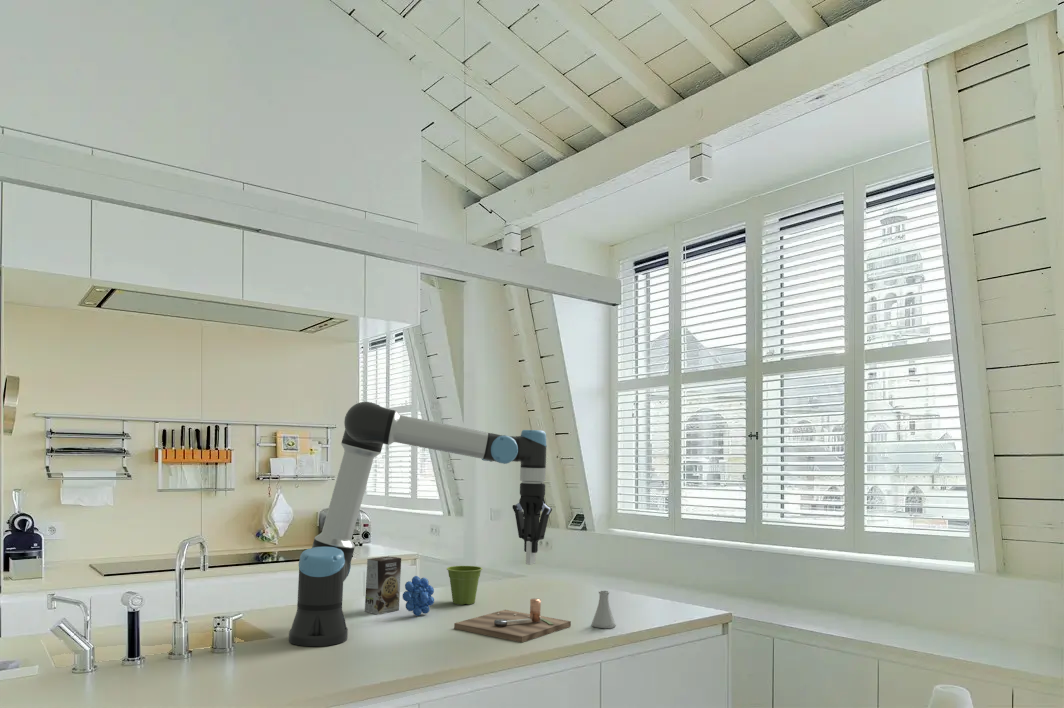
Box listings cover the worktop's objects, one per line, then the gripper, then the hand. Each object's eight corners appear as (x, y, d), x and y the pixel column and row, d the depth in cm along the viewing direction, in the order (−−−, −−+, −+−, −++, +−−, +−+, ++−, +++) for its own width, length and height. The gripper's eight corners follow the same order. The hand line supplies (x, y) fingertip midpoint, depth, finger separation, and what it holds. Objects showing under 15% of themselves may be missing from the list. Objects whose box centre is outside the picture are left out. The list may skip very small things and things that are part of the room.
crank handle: (497, 626, 228) (498, 604, 228) (492, 623, 231) (492, 601, 231) (544, 621, 234) (544, 600, 235) (538, 619, 238) (538, 597, 238)
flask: (614, 629, 235) (615, 594, 236) (589, 628, 236) (590, 592, 237) (617, 624, 242) (617, 589, 243) (592, 622, 243) (593, 588, 244)
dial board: (522, 642, 218) (522, 635, 218) (454, 628, 232) (454, 622, 232) (570, 626, 238) (570, 620, 238) (505, 614, 251) (505, 608, 252)
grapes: (410, 621, 240) (412, 579, 241) (397, 617, 245) (398, 576, 246) (441, 615, 248) (443, 575, 249) (428, 611, 253) (429, 572, 254)
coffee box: (378, 614, 247) (380, 560, 249) (363, 611, 251) (366, 558, 253) (400, 610, 255) (402, 557, 256) (386, 607, 258) (388, 555, 260)
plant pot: (484, 600, 273) (485, 565, 274) (478, 607, 261) (479, 571, 262) (449, 598, 274) (450, 564, 275) (442, 605, 262) (443, 570, 263)
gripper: (558, 483, 240) (556, 565, 237) (522, 480, 247) (520, 560, 245) (543, 484, 234) (541, 567, 231) (507, 481, 241) (505, 562, 239)
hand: (530, 563), depth 238 cm, fingers closed
